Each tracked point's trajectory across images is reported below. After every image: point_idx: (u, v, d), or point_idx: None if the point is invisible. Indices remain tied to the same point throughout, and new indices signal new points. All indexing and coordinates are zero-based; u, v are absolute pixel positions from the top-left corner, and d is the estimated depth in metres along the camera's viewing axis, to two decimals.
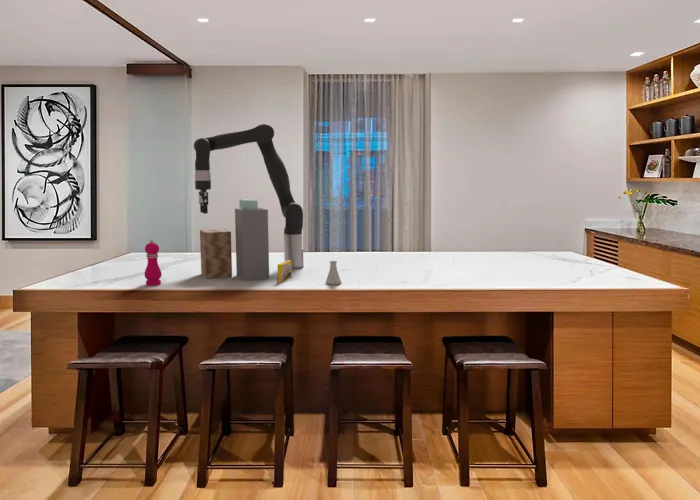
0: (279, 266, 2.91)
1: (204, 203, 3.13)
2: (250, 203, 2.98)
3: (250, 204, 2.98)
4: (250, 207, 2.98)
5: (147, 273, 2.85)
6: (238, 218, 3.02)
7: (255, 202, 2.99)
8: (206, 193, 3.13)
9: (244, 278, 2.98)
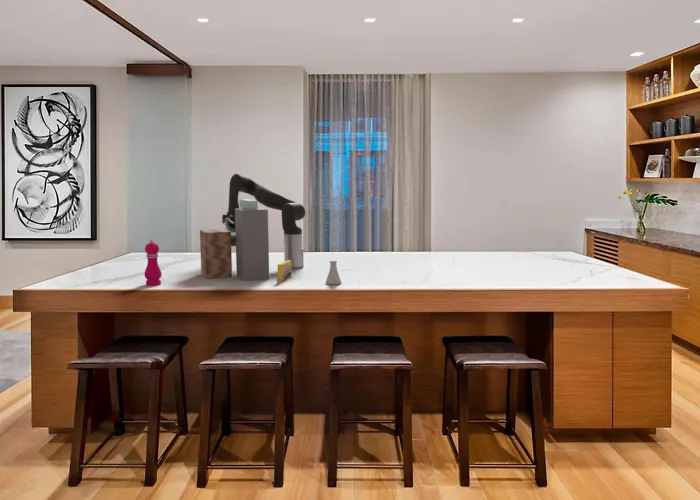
0: (279, 266, 2.91)
1: (223, 218, 3.34)
2: (250, 203, 2.98)
3: (250, 204, 2.98)
4: (250, 207, 2.98)
5: (147, 273, 2.85)
6: (238, 218, 3.02)
7: (255, 202, 2.99)
8: (222, 220, 3.38)
9: (244, 278, 2.98)
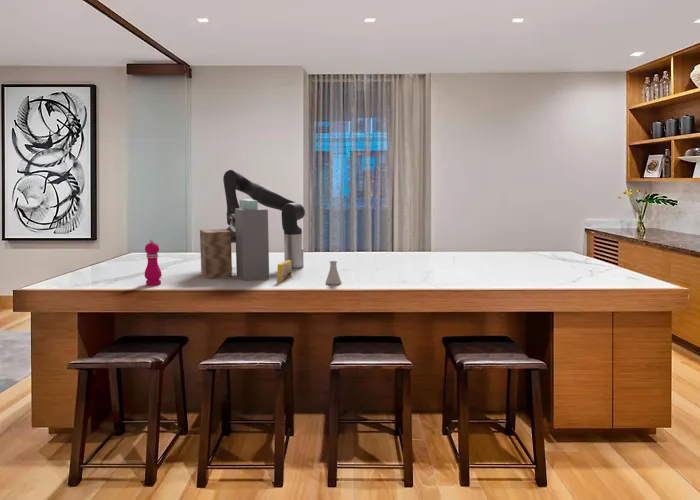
0: (279, 266, 2.91)
1: (227, 214, 3.21)
2: (250, 203, 2.98)
3: (250, 204, 2.98)
4: (250, 207, 2.98)
5: (147, 273, 2.85)
6: (238, 218, 3.02)
7: (255, 202, 2.99)
8: None
9: (244, 278, 2.98)
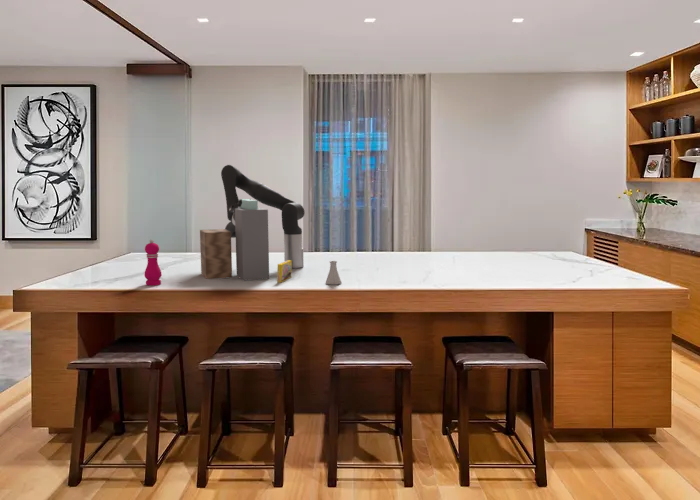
0: (279, 266, 2.91)
1: (234, 206, 3.15)
2: (250, 203, 2.98)
3: (250, 204, 2.98)
4: (250, 207, 2.98)
5: (147, 273, 2.85)
6: (238, 218, 3.02)
7: (255, 202, 2.99)
8: (229, 209, 3.19)
9: (244, 278, 2.98)
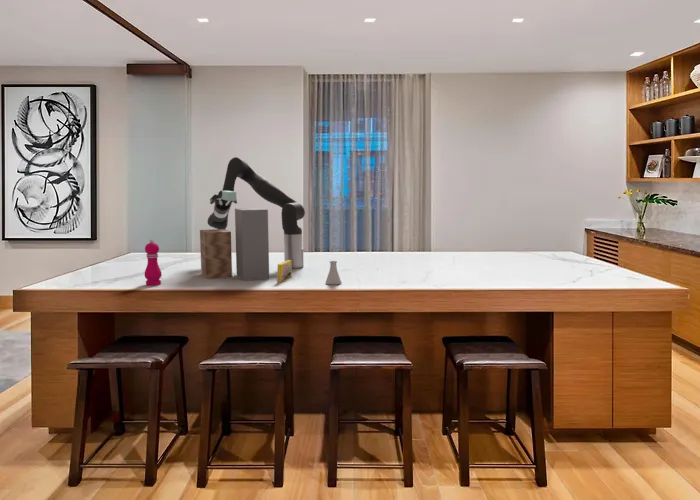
0: (279, 266, 2.91)
1: (214, 198, 3.22)
2: (229, 194, 3.05)
3: (229, 195, 3.05)
4: (229, 198, 3.05)
5: (147, 273, 2.85)
6: (238, 218, 3.02)
7: (234, 193, 3.05)
8: (210, 200, 3.26)
9: (244, 278, 2.98)
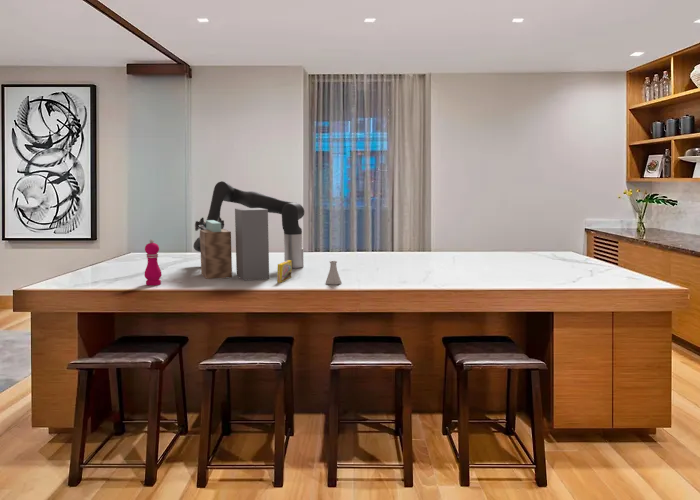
0: (279, 266, 2.91)
1: (196, 225, 3.21)
2: (214, 225, 3.04)
3: (214, 226, 3.04)
4: (214, 229, 3.04)
5: (147, 273, 2.85)
6: (238, 218, 3.02)
7: (219, 224, 3.04)
8: (195, 227, 3.25)
9: (244, 278, 2.98)
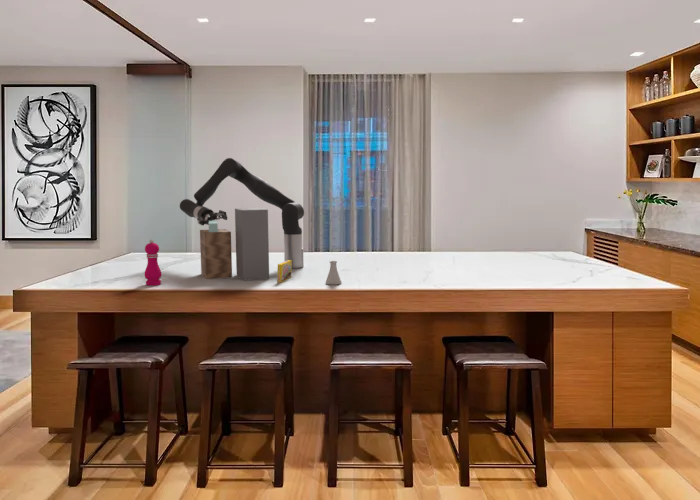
0: (279, 266, 2.91)
1: (201, 224, 3.25)
2: (210, 226, 3.01)
3: (210, 227, 3.01)
4: (210, 229, 3.01)
5: (147, 273, 2.85)
6: (238, 218, 3.02)
7: (215, 225, 3.01)
8: (197, 220, 3.28)
9: (244, 278, 2.98)
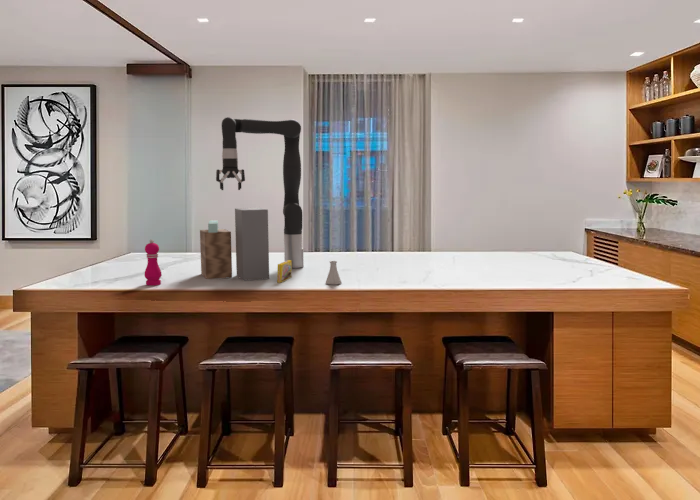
0: (279, 266, 2.91)
1: (216, 180, 3.30)
2: (209, 226, 3.01)
3: (209, 227, 3.01)
4: (209, 230, 3.01)
5: (147, 273, 2.85)
6: (238, 218, 3.02)
7: (214, 225, 3.01)
8: (217, 170, 3.28)
9: (244, 278, 2.98)
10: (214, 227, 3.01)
